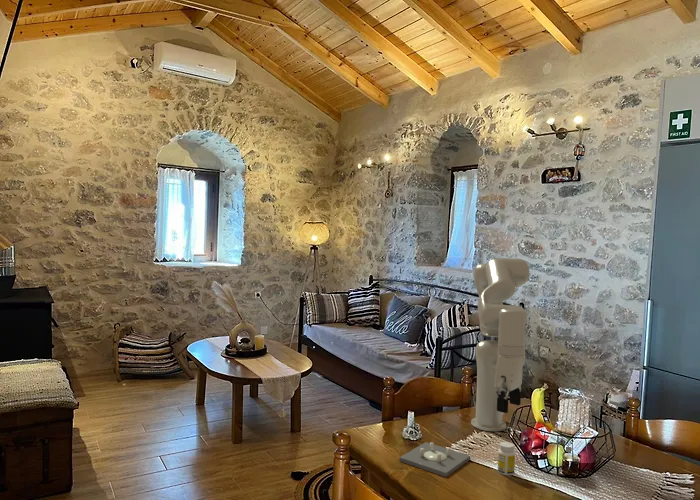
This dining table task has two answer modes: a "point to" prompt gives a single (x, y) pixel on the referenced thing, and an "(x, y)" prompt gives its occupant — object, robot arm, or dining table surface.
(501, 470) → the supplement bottle
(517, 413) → the dining table surface
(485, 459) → the dining table surface
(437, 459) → the pin tray
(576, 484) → the dining table surface
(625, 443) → the dining table surface
